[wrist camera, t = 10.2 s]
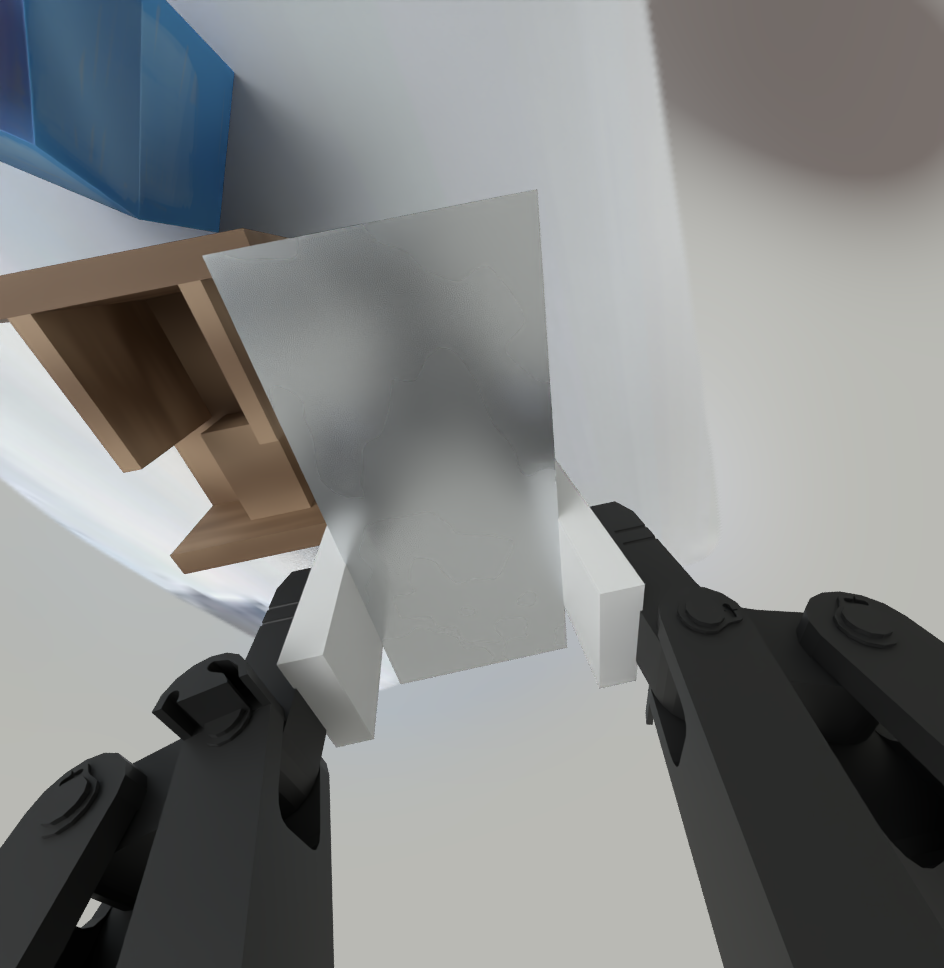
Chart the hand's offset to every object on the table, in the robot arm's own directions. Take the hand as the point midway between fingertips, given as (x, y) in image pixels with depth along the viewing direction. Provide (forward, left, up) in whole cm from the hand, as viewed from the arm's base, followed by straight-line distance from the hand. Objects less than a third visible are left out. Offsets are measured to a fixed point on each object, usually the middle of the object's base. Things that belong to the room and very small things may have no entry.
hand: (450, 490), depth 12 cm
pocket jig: (-1, -11, -13) cm, 17 cm away
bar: (-2, 0, +1) cm, 2 cm away
